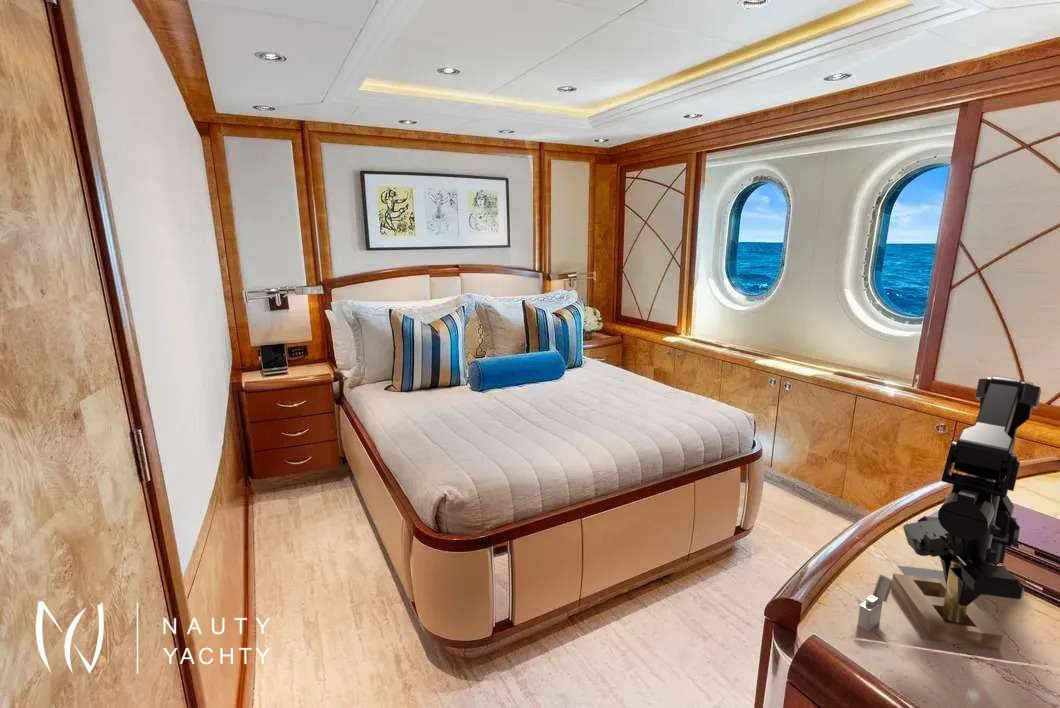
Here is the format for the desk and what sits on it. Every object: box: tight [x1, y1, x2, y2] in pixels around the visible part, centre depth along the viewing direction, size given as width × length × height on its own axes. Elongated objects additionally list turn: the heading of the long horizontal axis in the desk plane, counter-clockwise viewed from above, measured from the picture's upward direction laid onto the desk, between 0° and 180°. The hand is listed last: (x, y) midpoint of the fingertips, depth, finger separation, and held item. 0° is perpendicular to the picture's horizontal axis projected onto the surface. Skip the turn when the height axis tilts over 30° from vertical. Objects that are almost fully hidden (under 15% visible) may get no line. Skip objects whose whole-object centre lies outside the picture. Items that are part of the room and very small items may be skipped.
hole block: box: [891, 573, 1003, 651], centre depth 89 cm, size 10×14×3 cm
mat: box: [897, 565, 945, 580], centre depth 99 cm, size 8×7×1 cm
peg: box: [942, 558, 967, 624], centre depth 84 cm, size 3×3×10 cm
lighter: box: [857, 574, 893, 632], centre depth 87 cm, size 7×2×8 cm, turn 121°
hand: (956, 598), depth 85 cm, fingers closed on peg, 3 cm apart
